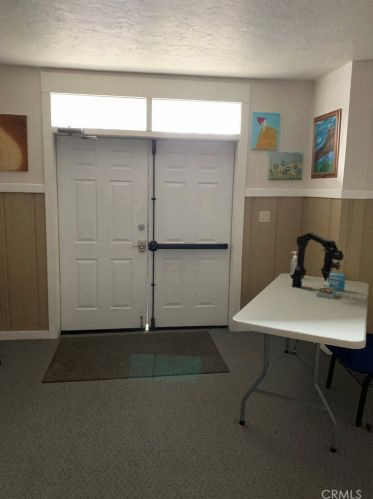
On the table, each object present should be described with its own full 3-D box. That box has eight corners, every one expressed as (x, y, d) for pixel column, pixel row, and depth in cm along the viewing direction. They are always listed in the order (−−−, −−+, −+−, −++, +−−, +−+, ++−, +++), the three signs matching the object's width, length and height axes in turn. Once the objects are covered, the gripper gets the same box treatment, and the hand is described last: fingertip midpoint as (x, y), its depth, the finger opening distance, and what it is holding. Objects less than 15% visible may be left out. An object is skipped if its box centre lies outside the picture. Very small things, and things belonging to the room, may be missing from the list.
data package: (326, 289, 302) (328, 274, 300) (327, 288, 306) (329, 272, 304) (343, 291, 297) (345, 276, 295) (344, 290, 301) (345, 274, 299)
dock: (316, 296, 283) (316, 290, 282) (318, 292, 291) (318, 287, 291) (333, 298, 277) (334, 293, 277) (335, 295, 286) (336, 290, 285)
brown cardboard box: (318, 292, 284) (318, 287, 283) (319, 290, 288) (319, 285, 288) (331, 294, 280) (332, 289, 279) (332, 292, 284) (332, 287, 284)
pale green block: (322, 287, 283) (322, 283, 282) (323, 286, 286) (323, 282, 285) (328, 288, 281) (328, 284, 281) (329, 287, 284) (329, 283, 284)
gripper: (339, 261, 268) (336, 283, 271) (342, 257, 285) (340, 278, 287) (321, 259, 273) (320, 281, 276) (325, 255, 290) (324, 276, 292)
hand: (326, 279), depth 283 cm, fingers open, 9 cm apart
